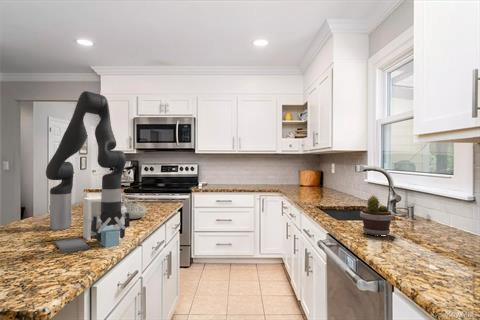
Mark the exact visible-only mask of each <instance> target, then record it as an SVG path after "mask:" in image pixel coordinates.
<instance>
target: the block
mask: <svg viewBox="0 0 480 320" xmlns="http://www.w3.org/2000/svg"><path fill="white" fill-rule="evenodd" d="M97 228H98V227H97ZM96 241H97V240H96ZM97 242H98V241H97ZM98 243H99V244H100V245H102V246H103V247H104V248H105V249H107V248H112V247H117V246H118V247H119V246H120V231H118V230H116V229H115V228H113V227H111V226H105V228H103V230H102V231H101V242H98Z"/></svg>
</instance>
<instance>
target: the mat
mask: <svg viewBox="0 0 480 320" xmlns="http://www.w3.org/2000/svg"><path fill="white" fill-rule="evenodd" d="M54 244H55V246H56V247H57V248H58V249H59V250H60V251H61V253H62V254H67V253H73V252H77V251H84V250H89V249H91V247H90V245H88V243H86V242H85V241H84V240H83V239H82V238H80V237H74V238H67V239H61V240H54Z"/></svg>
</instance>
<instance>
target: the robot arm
mask: <svg viewBox="0 0 480 320" xmlns="http://www.w3.org/2000/svg"><path fill="white" fill-rule="evenodd" d="M110 112H111V111H110V107H109V101H108V99H107V97H106V96H105V95H103V94H99V93H96V92H93V91H88V90H87V91H85V90H84V91H82V92H81V93H80V95H79V96H78V100H77V102H76V105H75V108H74V111H73V113H72V117H71V119H70V121H69V123H68V125H67V128H66V129H65V131H64V133H63V136H62V138H61V139H60V143H59V144H58V148H57V149H56V151H55V153H54V154H53V156H52V157H51V159H50V160H49V162H48V164H47V165H46V170H45V176H46V178H47V180H50V181H60V183H59V184H58V185H55V186H53V187H51V188H50V190H49V230H52V231H54V230H55V231H56V230H58V231H59V230H64V229H65V230H66V229H69V228H71V227H72V198H73V197H72V196H73V195H72V193H73V192H72V191H73V188H74V187H73V185H74V184H73V182H74V172H75V171H74V165H73V163H72V162H70V161H67V160H68V159H69V158H70V157H72V156H74V155H75V154H77V153H79V151H80V150H81V149H82V148H83V147H84V144H85V143H86V141H87V138H88V132H87V129H86V126H85V123H84V121H85V120H84V117H85V115H86V114H91V115H98V116H99V122H98V123H97V125H96V126H95V130H94V136H95V137H94V138H95V141H96V143H97V151H98V152H97V163H98V165H99V166H100V167H101V169H102V168H103V169H113V170H112V172H110V173H106V174H104V175H102V177H101V193H100V197H101V215H100V216H92V222H91V231H93V232H96V235H95V236H96V237H95V238H96V241H98V243H99V242H101V231H102V230H103V228H105V226H106V225H107V226H110V225H116V224H118V225H119V227H120V228H121V229H120V231H119V239H124V237H125V235H126V232H125V231H126V229H127V228H130V226H131V225H130V223H131V222H130V220H131V219H129V213H127V212H125V213H121V203H122V199H123V198H122V197H123V196H122V194H123V193H122V177H123V173H124V171H125V170H124V169H125V167H126V163H127V155H126V153H125V152H124V151H122V150H114V149H115V148H116V147H117V140H116V138H115V134H114V132H113V128H112V124H111V123H112V121H111V115H110ZM122 216H123V218H124V220H125V224H124V225H123V224H122V222H121V221H120V219H121V217H122ZM99 219H100V220H101V221H102V222H101V223H100V224H99V226H98V228H97V229H96V224H97V222H98V220H99Z"/></svg>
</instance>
